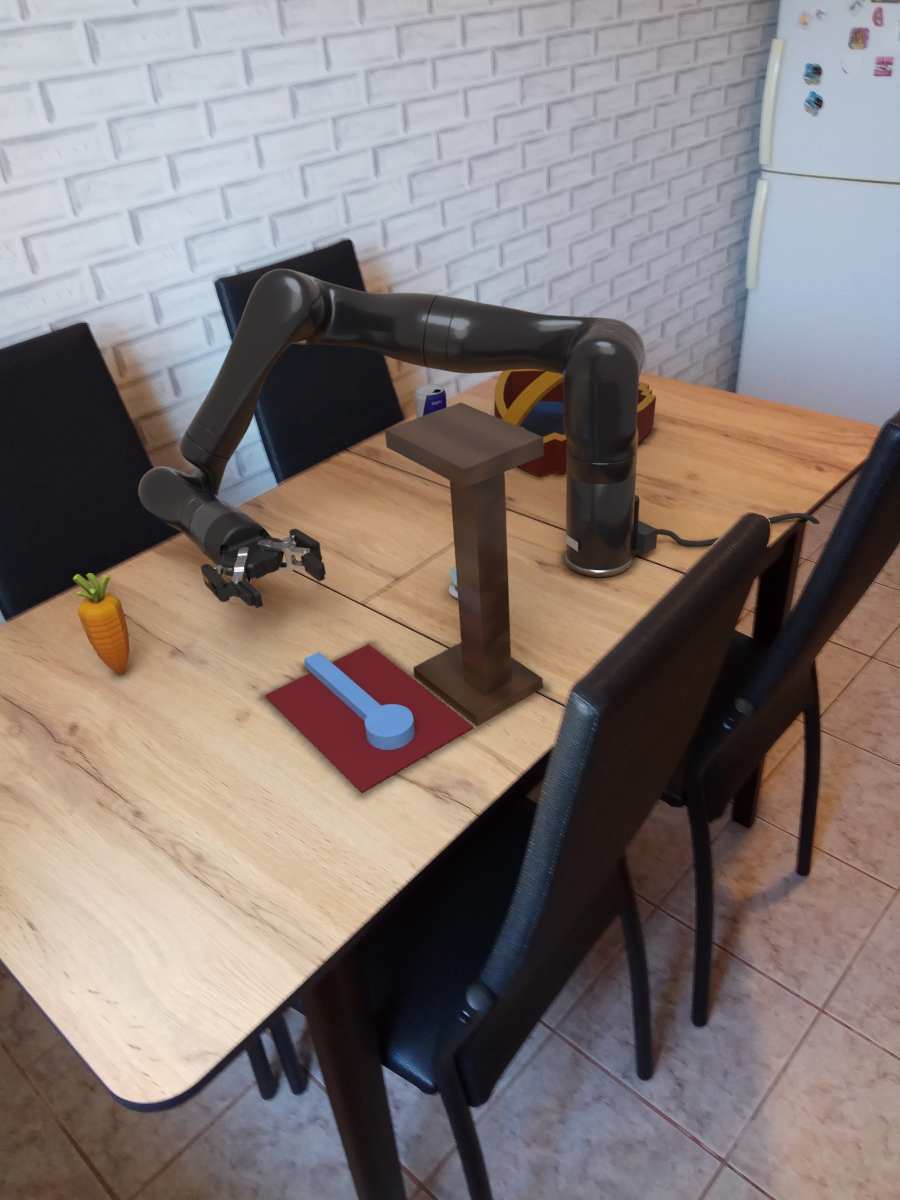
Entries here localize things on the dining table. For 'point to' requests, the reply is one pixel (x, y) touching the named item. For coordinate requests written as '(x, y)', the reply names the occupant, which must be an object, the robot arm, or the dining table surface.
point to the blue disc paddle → (366, 706)
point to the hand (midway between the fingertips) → (291, 587)
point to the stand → (474, 552)
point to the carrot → (104, 622)
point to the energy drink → (429, 399)
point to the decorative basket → (550, 413)
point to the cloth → (345, 730)
